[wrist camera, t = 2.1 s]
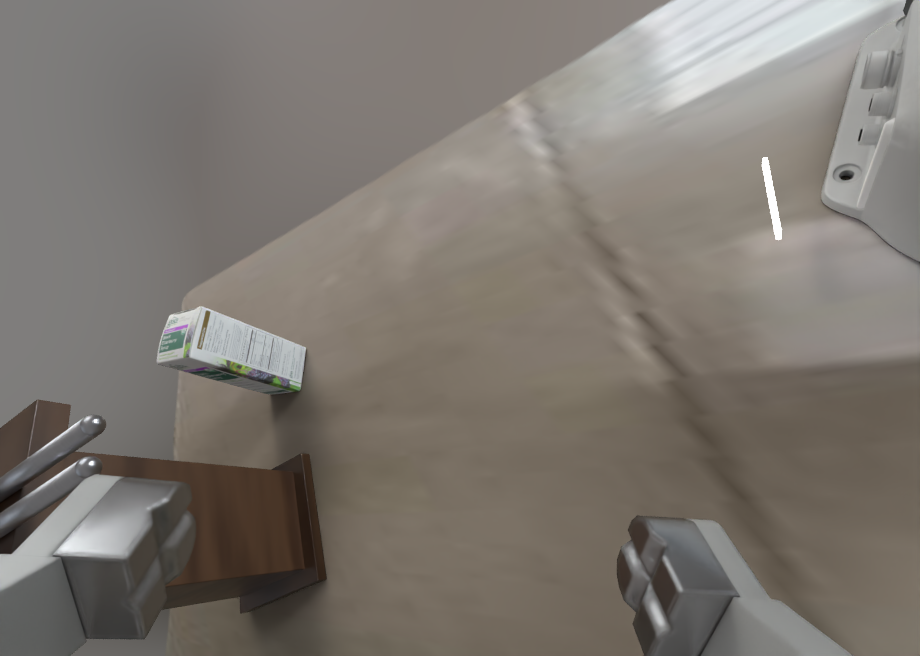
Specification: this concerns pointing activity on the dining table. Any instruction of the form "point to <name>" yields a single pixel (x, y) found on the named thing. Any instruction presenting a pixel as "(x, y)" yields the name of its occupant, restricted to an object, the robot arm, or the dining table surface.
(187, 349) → the syrup box
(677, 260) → the dining table surface
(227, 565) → the stand
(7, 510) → the twin chrome rods
